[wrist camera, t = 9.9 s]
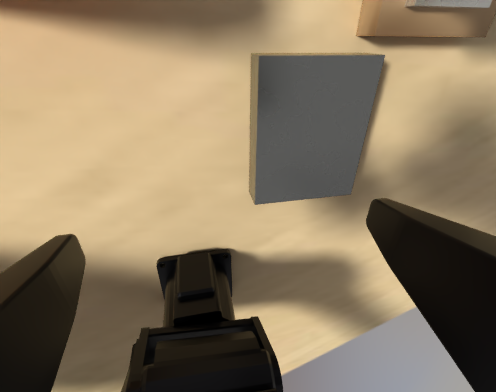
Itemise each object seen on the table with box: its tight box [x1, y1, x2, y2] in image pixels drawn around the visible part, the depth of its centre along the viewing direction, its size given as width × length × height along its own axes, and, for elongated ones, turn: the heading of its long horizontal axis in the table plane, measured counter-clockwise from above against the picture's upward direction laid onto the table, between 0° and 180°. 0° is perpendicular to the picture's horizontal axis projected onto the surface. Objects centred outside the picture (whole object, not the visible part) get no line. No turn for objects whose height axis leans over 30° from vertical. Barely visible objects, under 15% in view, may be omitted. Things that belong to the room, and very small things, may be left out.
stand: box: [249, 53, 385, 205], centre depth 19 cm, size 10×8×2 cm
